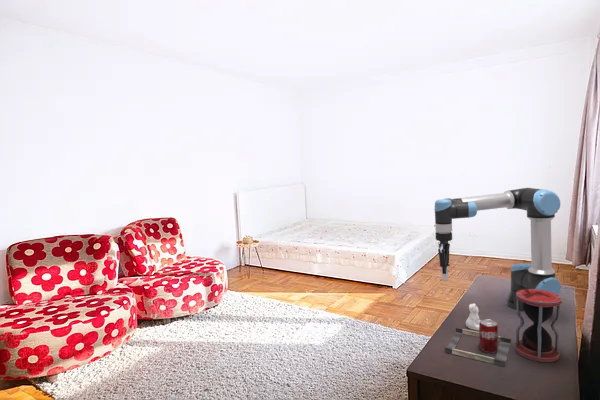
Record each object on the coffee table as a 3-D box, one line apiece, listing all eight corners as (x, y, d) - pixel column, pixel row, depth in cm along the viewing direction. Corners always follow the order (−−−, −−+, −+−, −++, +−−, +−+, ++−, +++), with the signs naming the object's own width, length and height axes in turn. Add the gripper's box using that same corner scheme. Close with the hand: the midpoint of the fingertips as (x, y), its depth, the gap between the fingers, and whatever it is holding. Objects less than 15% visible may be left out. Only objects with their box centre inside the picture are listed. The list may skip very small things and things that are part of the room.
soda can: (500, 353, 165) (500, 326, 163) (482, 353, 165) (482, 326, 164) (493, 345, 172) (494, 319, 170) (476, 344, 173) (476, 319, 171)
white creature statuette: (487, 333, 183) (487, 308, 182) (467, 331, 185) (467, 307, 184) (482, 324, 192) (482, 300, 191) (463, 323, 194) (464, 300, 193)
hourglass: (555, 346, 168) (557, 290, 165) (563, 365, 154) (565, 304, 151) (513, 340, 175) (514, 286, 172) (516, 358, 160) (517, 300, 157)
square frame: (456, 331, 186) (456, 327, 186) (510, 342, 173) (511, 338, 173) (444, 352, 168) (444, 347, 168) (504, 366, 155) (504, 361, 155)
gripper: (439, 228, 195) (440, 274, 198) (432, 234, 184) (433, 282, 187) (455, 229, 191) (456, 276, 193) (448, 235, 180) (450, 284, 183)
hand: (445, 279), depth 190 cm, fingers closed
